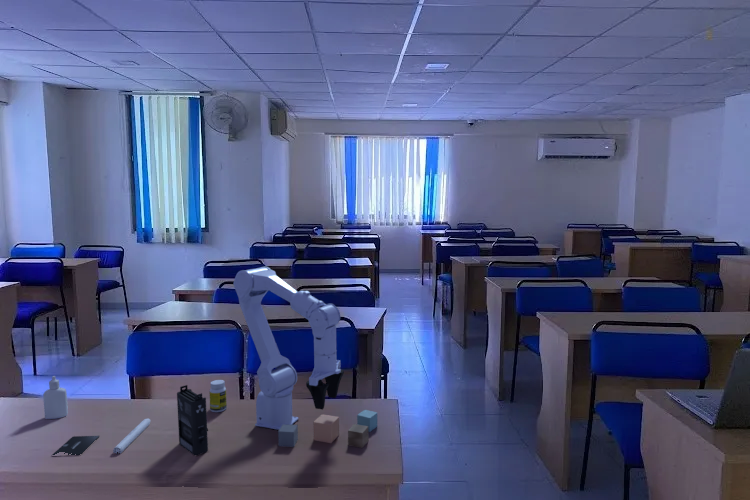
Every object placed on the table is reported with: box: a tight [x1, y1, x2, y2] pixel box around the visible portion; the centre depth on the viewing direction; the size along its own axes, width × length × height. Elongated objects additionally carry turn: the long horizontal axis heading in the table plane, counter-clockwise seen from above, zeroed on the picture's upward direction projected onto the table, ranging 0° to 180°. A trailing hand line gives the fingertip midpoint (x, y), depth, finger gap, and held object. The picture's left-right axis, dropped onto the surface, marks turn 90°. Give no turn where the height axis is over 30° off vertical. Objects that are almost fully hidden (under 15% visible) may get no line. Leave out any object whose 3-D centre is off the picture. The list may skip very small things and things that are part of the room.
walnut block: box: [347, 423, 369, 449], centre depth 132 cm, size 4×4×4 cm
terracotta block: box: [313, 413, 340, 444], centre depth 135 cm, size 5×5×5 cm
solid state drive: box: [51, 435, 100, 456], centre depth 132 cm, size 7×10×1 cm
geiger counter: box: [176, 384, 209, 457], centre depth 130 cm, size 10×4×15 cm, turn 45°
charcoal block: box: [277, 424, 299, 448], centre depth 133 cm, size 4×4×4 cm
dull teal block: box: [356, 409, 378, 433], centre depth 141 cm, size 4×4×4 cm
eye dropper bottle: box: [42, 375, 69, 420], centre depth 149 cm, size 4×6×12 cm
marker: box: [112, 418, 151, 454], centre depth 136 cm, size 18×2×2 cm, turn 179°
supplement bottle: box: [209, 379, 227, 413], centre depth 153 cm, size 5×5×8 cm
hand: (326, 402), depth 135 cm, fingers open, 7 cm apart
